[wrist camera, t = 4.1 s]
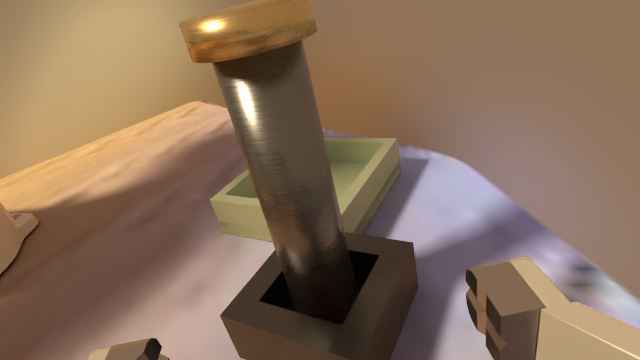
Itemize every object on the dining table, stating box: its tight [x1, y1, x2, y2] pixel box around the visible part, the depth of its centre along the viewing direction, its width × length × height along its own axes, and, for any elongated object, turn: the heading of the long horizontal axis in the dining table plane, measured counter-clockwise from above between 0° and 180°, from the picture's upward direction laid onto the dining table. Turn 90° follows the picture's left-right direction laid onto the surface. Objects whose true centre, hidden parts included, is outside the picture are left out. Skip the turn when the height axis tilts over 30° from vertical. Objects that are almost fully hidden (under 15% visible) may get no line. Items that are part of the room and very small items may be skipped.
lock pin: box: [179, 0, 358, 325], centre depth 16 cm, size 4×4×15 cm
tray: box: [210, 137, 401, 242], centre depth 30 cm, size 11×11×3 cm
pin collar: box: [220, 232, 418, 360], centre depth 19 cm, size 7×7×3 cm
